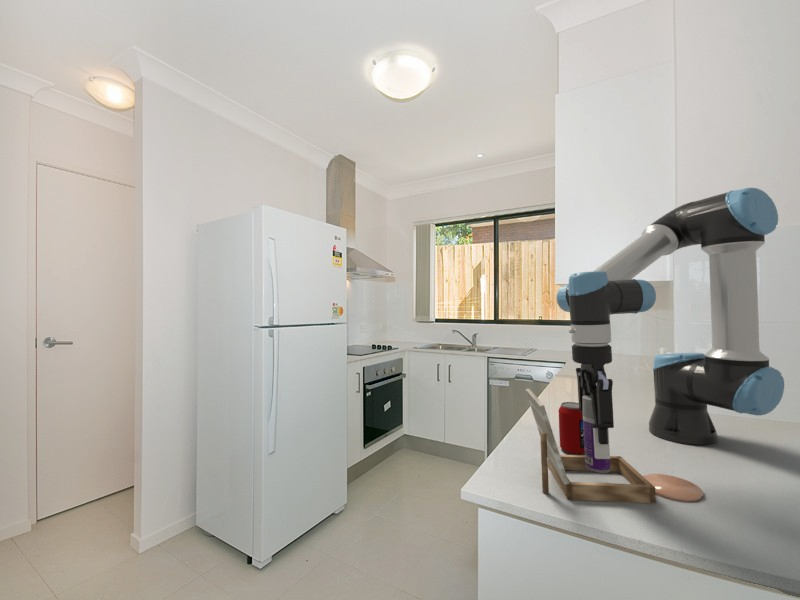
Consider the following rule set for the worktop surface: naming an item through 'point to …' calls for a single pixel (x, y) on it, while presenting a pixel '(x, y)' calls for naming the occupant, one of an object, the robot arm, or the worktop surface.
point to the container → (591, 439)
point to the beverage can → (571, 428)
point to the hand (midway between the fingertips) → (597, 452)
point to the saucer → (674, 488)
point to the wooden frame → (558, 464)
